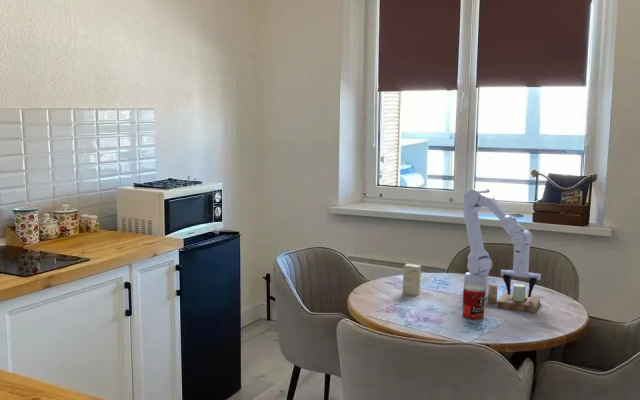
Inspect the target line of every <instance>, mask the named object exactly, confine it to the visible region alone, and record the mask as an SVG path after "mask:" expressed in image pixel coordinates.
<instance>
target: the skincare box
mask: <svg viewBox="0 0 640 400" xmlns="http://www.w3.org/2000/svg"><path fill="white" fill-rule="evenodd" d="M421 271H422V265H421V264H415V263H405V264H404V265H403V277H402V278H403V279H402V281H403V282H402V294H403V295H409V296H413V297H417V296H418V295H419V294H420V293H421V292H420V291H421V275H422V272H421Z"/></svg>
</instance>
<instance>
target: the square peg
mask: <svg viewBox="0 0 640 400" xmlns="http://www.w3.org/2000/svg"><path fill="white" fill-rule="evenodd" d="M512 289H513V290H512V293H513V300H514V301H521V302H525V295H526V284H522V283H514V284H513V287H512Z"/></svg>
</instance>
